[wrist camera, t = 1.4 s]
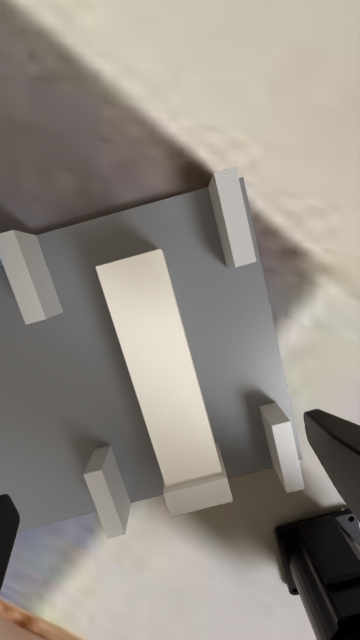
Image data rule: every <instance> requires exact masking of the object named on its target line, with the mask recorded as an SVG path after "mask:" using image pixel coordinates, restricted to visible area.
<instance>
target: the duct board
mask: <svg viewBox="0 0 360 640" xmlns="http://www.w3.org/2000/svg"><path fill="white" fill-rule="evenodd" d="M158 249H161V250H162V251H163V254H164V258H165V262H166V265H167V269H168V273H169V276H170V280H171V283H172V287H173V291H174V294H175V298H176V302H177V305H178V309H179V313H180V316H181V320H182V324H183V327H184V331H185V335H186V338H187V342H188V346H189V349H190V353H191V357H192V360H193V364H194V368H195V371H196V375H197V379H198V382H199V386H200V389H201V393H202V397H203V400H204V404H205V408H206V411H207V415H208V419H209V422H210V426H211V430H212V433H213V437H214V441H215V444H217V443H218V445H219V449H220V452H221V456H222V460H223V463H224V467H225V471H226V475H227V478H230V477H234V476H238V475H242V474H246V473H249V472H253V471H257V470H261V469H265V468H269V467H274V469H275V471H276V473H277V475H278V477H279V479H280V481H281V483H282V485H283V487H284V489H285V491H286V493H290V492H294V491H298V490H302V489H305V487H304V482H303V478H302V473H301V468H300V464H299V460H301V459H302V455H301V451H300V446H299V441H298V436H297V432H296V427H295V422H294V417H293V413H292V408H291V403H290V398H289V394H288V389H287V384H286V379H285V374H284V370H283V365H282V360H281V355H280V351H279V346H278V341H277V336H276V332H275V327H274V322H273V317H272V313H271V308H270V303H269V298H268V294H267V289H266V284H265V279H264V275H263V270H262V265H261V260H260V255H259V251H258V246H257V241H256V236H255V232H254V227H253V222H252V217H251V213H250V208H249V203H248V198H247V194H246V189H245V184H244V179H243V177H242V178H239V177H238V172H237V168H236V167H234V168H230V169H227V170H223V171H220V172H216V173H214V174H213V177H212V179H211V181H210V184H209V186H208V187H206V188H203V189H199V190H196V191H192V192H188V193H185V194H181V195H178V196H174V197H171V198H167V199H163V200H160V201H156V202H153V203H149V204H146V205H142V206H139V207H135V208H131V209H128V210H124V211H121V212H117V213H114V214H110V215H107V216H103V217H99V218H96V219H92V220H89V221H85V222H82V223H78V224H75V225H71V226H67V227H64V228H60V229H57V230H53V231H50V232H46V233H43V234H39V235H33V234H29V233H25V232H20V231H16V230H11V231H7V232H4V233H0V495H2V494H8V495H9V496H10V497H11V499H12V501H13V503H14V505H15V507H16V509H17V510H18V512H19V515H20V523H19V527H18V531H21V530H25V529H29V528H33V527H37V526H41V525H45V524H49V523H53V522H57V521H61V520H65V519H69V518H73V517H77V516H80V515H84V514H88V513H92V512H96V511H97V512H98V515H99V517H100V520H101V522H102V525H103V528H104V530H105V533H106V535H107V538H111V537H115V536H119V535H123V534H125V531H126V526H127V520H128V515H129V509H130V504H131V503H132V502H135V501H139V500H143V499H147V498H151V497H155V496H159V495H163V487H164V479H163V476H162V473H161V470H160V466H159V463H158V460H157V457H156V454H155V451H154V448H153V445H152V442H151V438H150V435H149V432H148V429H147V426H146V423H145V420H144V417H143V414H142V410H141V407H140V404H139V401H138V398H137V395H136V392H135V389H134V386H133V382H132V379H131V376H130V373H129V370H128V367H127V364H126V361H125V358H124V354H123V351H122V348H121V345H120V342H119V339H118V336H117V333H116V330H115V326H114V323H113V320H112V317H111V314H110V311H109V308H108V305H107V302H106V299H105V295H104V292H103V289H102V286H101V283H100V280H99V277H98V274H97V271H96V266H100V265H104V264H107V263H111V262H114V261H118V260H122V259H125V258H129V257H133V256H136V255H140V254H143V253H147V252H151V251H154V250H158ZM18 531H17V532H18Z"/></svg>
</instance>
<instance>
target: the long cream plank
mask: <svg viewBox="0 0 360 640" xmlns="http://www.w3.org/2000/svg"><path fill="white" fill-rule="evenodd" d="M96 271H97V274H98V277H99V280H100V283H101V286H102V289H103V292H104V295H105V299H106V302H107V305H108V308H109V311H110V314H111V317H112V320H113V323H114V326H115V330H116V333H117V336H118V339H119V342H120V345H121V348H122V351H123V354H124V358H125V361H126V364H127V367H128V370H129V373H130V376H131V379H132V382H133V386H134V389H135V392H136V395H137V398H138V401H139V404H140V407H141V410H142V414H143V417H144V420H145V423H146V426H147V429H148V432H149V435H150V438H151V442H152V445H153V448H154V451H155V454H156V457H157V460H158V463H159V466H160V470H161V473H162V476H163V479H164V487H163V495H164V498H165V501H166V504H167V507H168V511H169V514H170V517H173V516H177V515H181V514H185V513H189V512H193V511H197V510H201V509H205V508H209V507H213V506H217V505H221V504H225V503H229V502H233V498H232V494H231V490H230V486H229V483H228V479H227V475H226V471H225V467H224V463H223V460H222V456H221V452H220V449H219V445H218V443H217V444H215V441H214V437H213V433H212V430H211V426H210V422H209V419H208V415H207V411H206V408H205V404H204V400H203V397H202V393H201V389H200V386H199V382H198V379H197V375H196V371H195V368H194V364H193V360H192V357H191V353H190V349H189V346H188V342H187V338H186V335H185V331H184V327H183V324H182V320H181V316H180V313H179V309H178V305H177V302H176V298H175V294H174V291H173V287H172V283H171V280H170V276H169V273H168V269H167V265H166V262H165V258H164V254H163V251H162V250H161V249H158V250H154V251H151V252H147V253H143V254H140V255H136V256H133V257H129V258H125V259H122V260H118V261H114V262H111V263H107V264H104V265H100V266H96Z"/></svg>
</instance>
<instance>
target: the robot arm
mask: <svg viewBox="0 0 360 640" xmlns="http://www.w3.org/2000/svg"><path fill="white" fill-rule="evenodd" d="M304 423H305V430H306V436H307V439H308V441H309V444H310V445H311V447H312V449H313V450H314V452H315V454H316V456H317V457H318V459H319V461H320V462H321V464H322V466H323V467H324V469H325V471H326V473H327V474H328V476H329V478H330V479H331V481H332V483H333V484H334V486H335V488H336V489H337V491H338V493H339V494H340V496H341V497H342V499H343V500H344V502H345V503H346V504H347V506H348V507H349V509H347V510H343V511H339V512H335V513H331V514H327V515H323V516H319V517H315V518H311V519H307V520H303V521H299V522H295V523H291V524H287V525H283V526H279V527H277V528H276V529H275V530H274V534H275V538H276V542H277V546H278V550H279V554H280V558H281V562H282V566H283V570H284V574H285V579H286V583H287V587H288V589H289V592H290V594H292V595H300V597H301V600H302V603H303V605H304V608H305V610H306V613H307V615H308V618H309V621H310V623H311V626H312V628H313V631H314V633H315V636H316V639H317V640H360V529H359V523H358V521H359V522H360V425H357V424H355V423H352V422H350V421H347V420H344V419H342V418H339V417H337V416H334V415H332V414H329V413H327V412H324V411H322V410H319V409H314V410H310V411H307V412H305V413H304ZM19 523H20V515H19V512H18V510H17V509H16V507H15V505H14V503H13V501H12V499H11V497H10V496H9V495H8V494H2V495H0V590H1V587H2V584H3V580H4V577H5V574H6V570H7V566H8V563H9V559H10V556H11V552H12V549H13V545H14V541H15V538H16V534H17V531H18V527H19Z"/></svg>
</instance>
